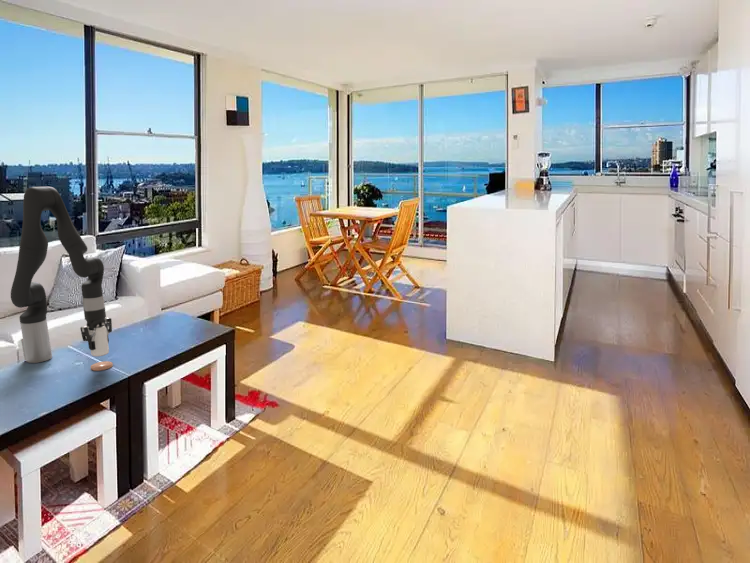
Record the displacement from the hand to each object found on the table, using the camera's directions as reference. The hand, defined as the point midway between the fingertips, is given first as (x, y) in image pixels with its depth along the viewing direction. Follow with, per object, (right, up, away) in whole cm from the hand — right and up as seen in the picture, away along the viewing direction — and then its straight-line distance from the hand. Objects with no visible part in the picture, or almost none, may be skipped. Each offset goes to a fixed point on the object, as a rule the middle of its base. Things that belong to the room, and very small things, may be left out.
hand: (99, 346), depth 204 cm
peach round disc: (0, -9, +2) cm, 9 cm away
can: (0, -3, +1) cm, 3 cm away
